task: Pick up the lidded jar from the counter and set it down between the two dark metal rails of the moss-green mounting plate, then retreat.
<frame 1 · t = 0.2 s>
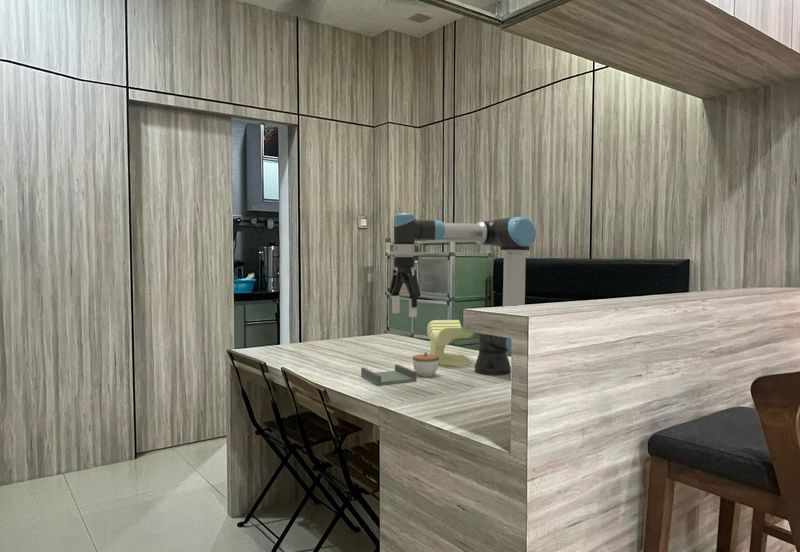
hand: (404, 315, 193), 28 cm above the table, fingers open, 13 cm apart
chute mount: (388, 379, 213), on the table
slatted curved stool: (449, 362, 249), on the table
lidded jar: (425, 375, 220), on the table
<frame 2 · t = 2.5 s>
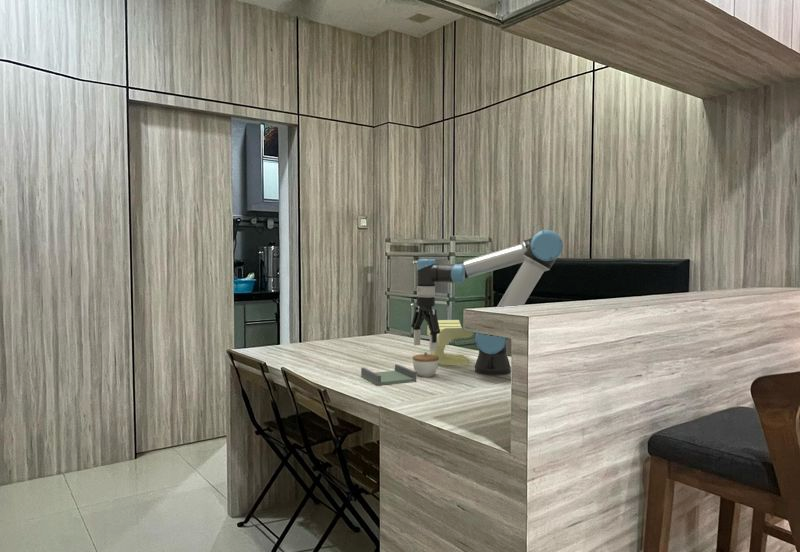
hand: (424, 347, 220), 11 cm above the table, fingers open, 13 cm apart
nothing on the table moved.
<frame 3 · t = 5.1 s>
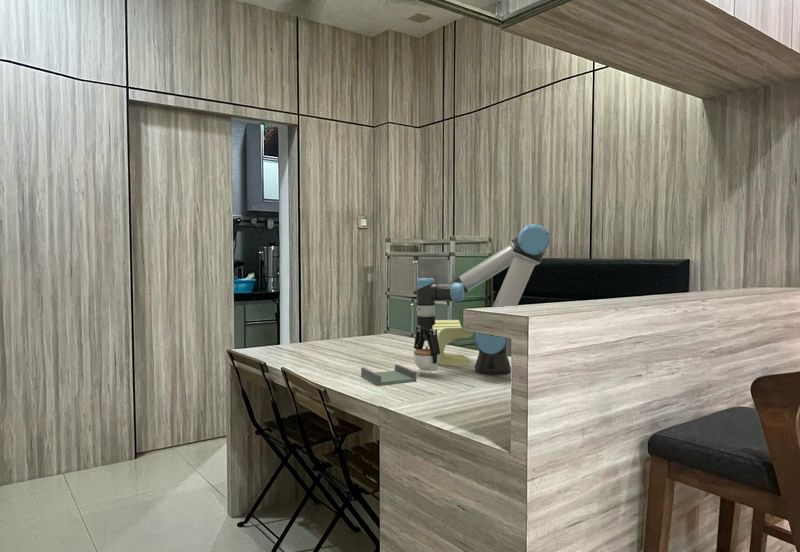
hand: (426, 368, 220), 3 cm above the table, fingers closed on lidded jar, 11 cm apart
lidded jar: (427, 369, 220), point 2 cm above the table, touching gripper
everything else where it was.
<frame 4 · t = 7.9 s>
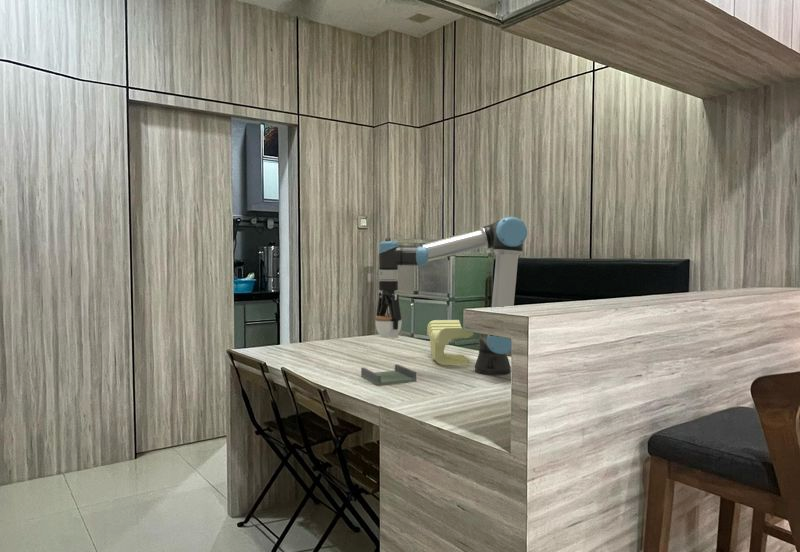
hand: (388, 335, 212), 17 cm above the table, fingers closed on lidded jar, 11 cm apart
lidded jar: (388, 336, 212), point 17 cm above the table, touching gripper
everything else where it was.
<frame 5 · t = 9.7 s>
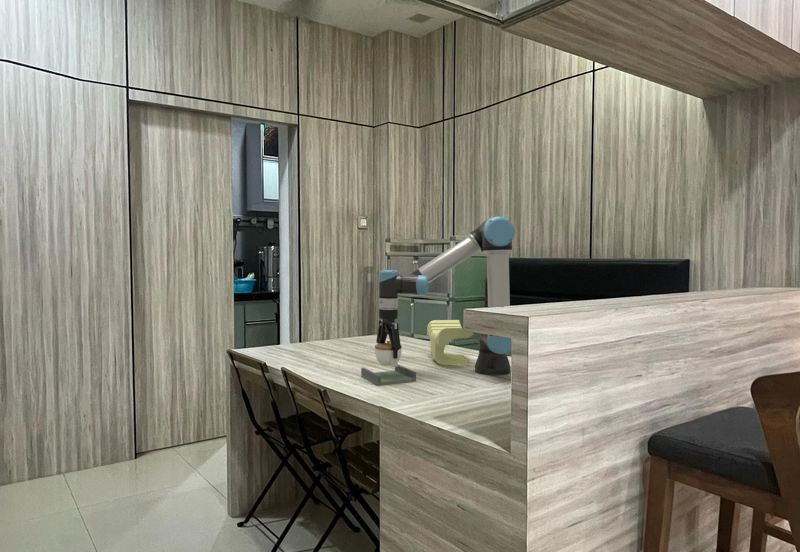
hand: (388, 363, 212), 6 cm above the table, fingers closed on lidded jar, 11 cm apart
lidded jar: (388, 365, 213), point 6 cm above the table, touching gripper
everything else where it was.
when the fingers open (3 cm above the table, at t = 11.1 s): lidded jar drops 1 cm, resting on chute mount.
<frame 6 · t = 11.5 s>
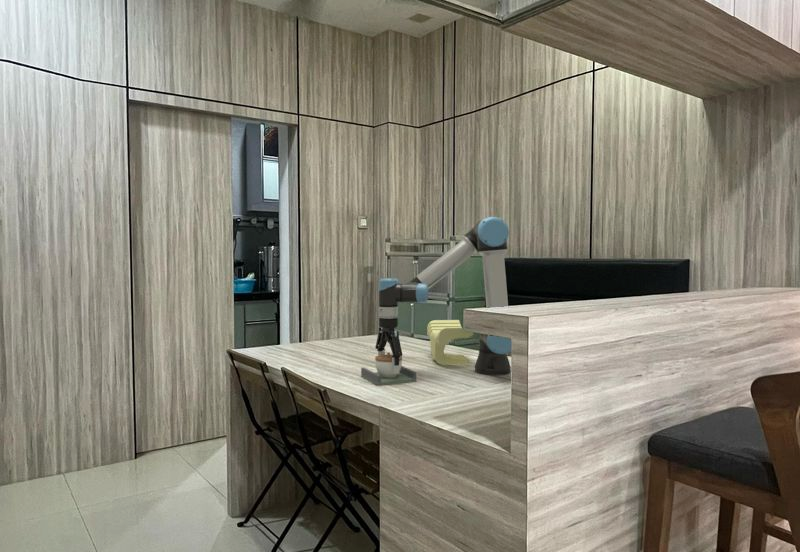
hand: (388, 370, 213), 4 cm above the table, fingers open, 13 cm apart
lidded jar: (388, 376, 213), point 1 cm above the table, touching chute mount
everything else where it was.
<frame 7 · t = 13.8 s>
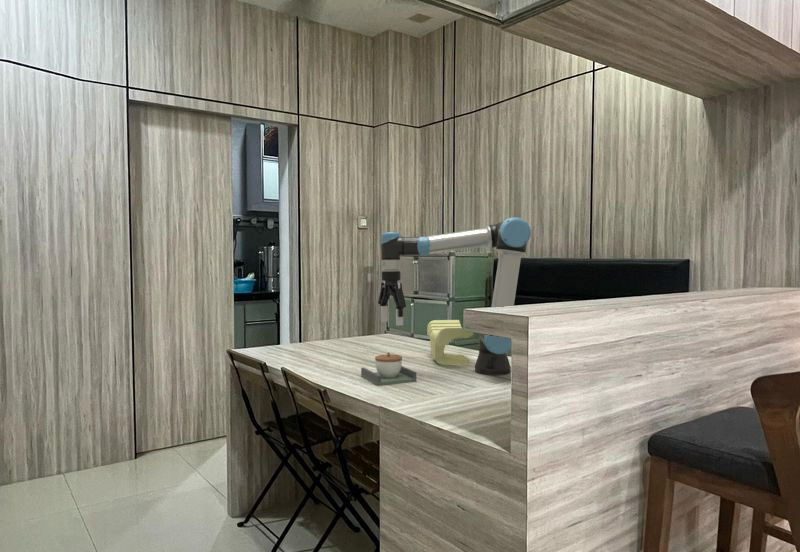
hand: (391, 323, 214), 22 cm above the table, fingers open, 13 cm apart
nothing on the table moved.
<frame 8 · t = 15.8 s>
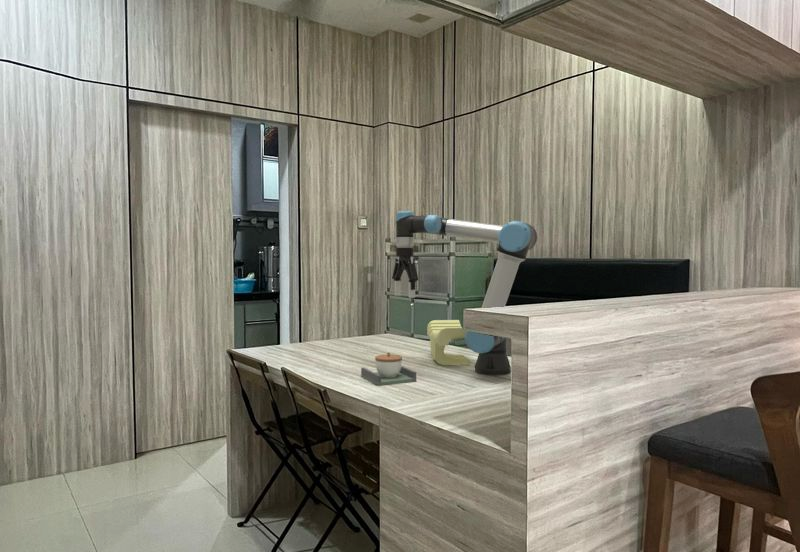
hand: (404, 296, 230), 32 cm above the table, fingers open, 13 cm apart
nothing on the table moved.
at the end: lidded jar 0.1 cm off-centre on the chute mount, point 1.0 cm above the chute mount's base; lidded jar tilted 0°; the gripper is holding nothing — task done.
